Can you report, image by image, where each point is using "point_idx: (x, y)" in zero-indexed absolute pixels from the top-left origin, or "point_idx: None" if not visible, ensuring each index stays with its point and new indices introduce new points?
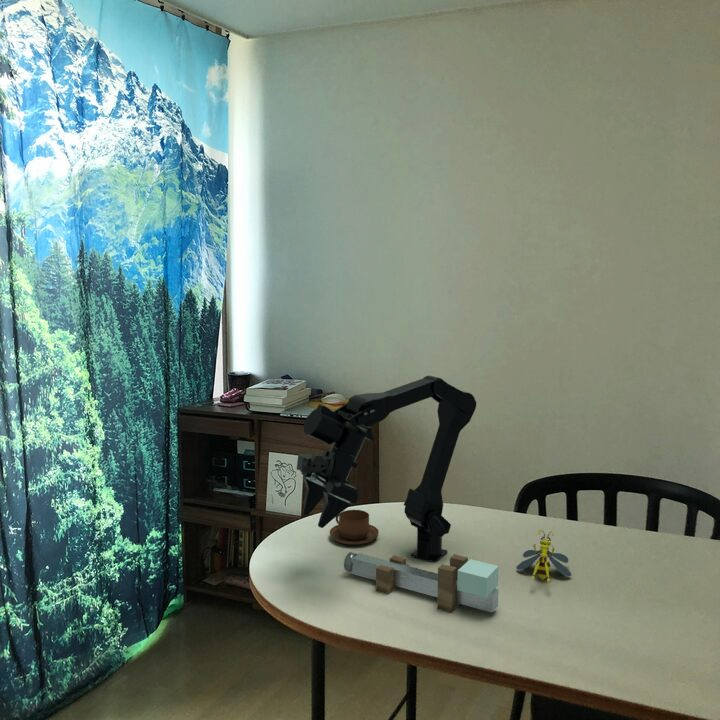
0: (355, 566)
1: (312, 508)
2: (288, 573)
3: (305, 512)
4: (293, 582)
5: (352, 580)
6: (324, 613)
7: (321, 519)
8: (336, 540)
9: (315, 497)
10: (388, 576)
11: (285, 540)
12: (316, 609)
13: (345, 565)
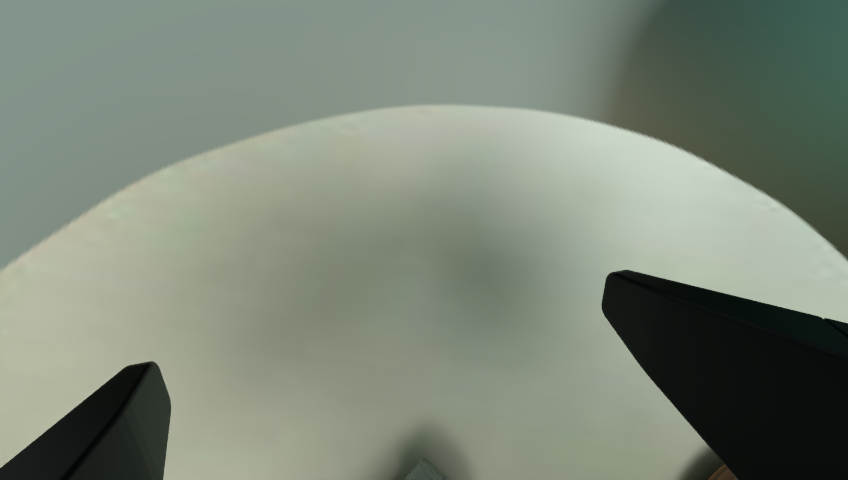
0: None
1: (660, 378)
2: (498, 224)
3: (621, 295)
4: (419, 229)
5: (376, 473)
6: (116, 303)
7: (49, 434)
8: (722, 466)
9: (806, 463)
10: None
11: (772, 261)
12: (162, 277)
13: (416, 470)
